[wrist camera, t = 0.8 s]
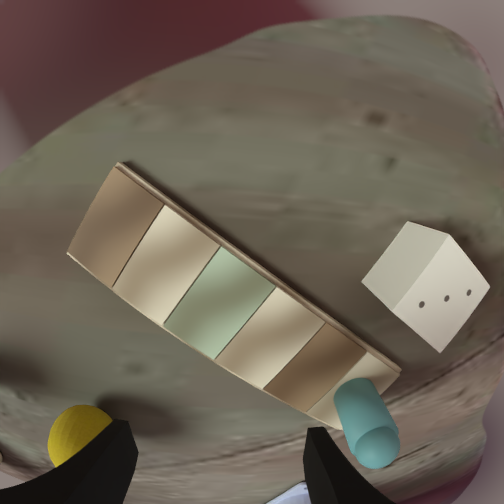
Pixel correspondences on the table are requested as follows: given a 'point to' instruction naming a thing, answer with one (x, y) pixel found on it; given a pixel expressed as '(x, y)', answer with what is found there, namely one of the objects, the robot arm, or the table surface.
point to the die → (427, 283)
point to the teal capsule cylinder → (367, 423)
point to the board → (220, 298)
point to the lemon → (75, 431)
